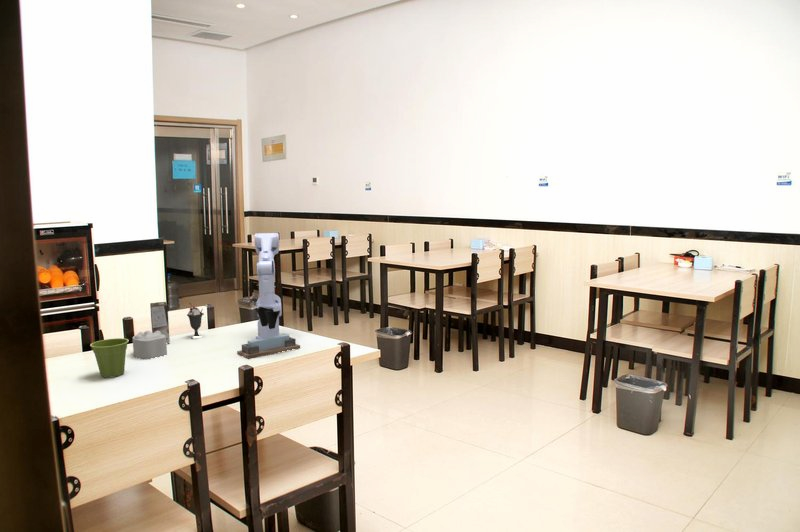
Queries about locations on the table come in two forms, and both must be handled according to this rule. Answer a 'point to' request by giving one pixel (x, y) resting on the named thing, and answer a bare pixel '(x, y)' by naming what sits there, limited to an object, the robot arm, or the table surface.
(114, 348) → the plant pot
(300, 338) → the table surface
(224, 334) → the table surface
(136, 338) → the lumpy-topped squat cylinder
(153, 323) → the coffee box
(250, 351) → the board
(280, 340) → the slat
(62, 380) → the table surface
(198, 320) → the sundae
